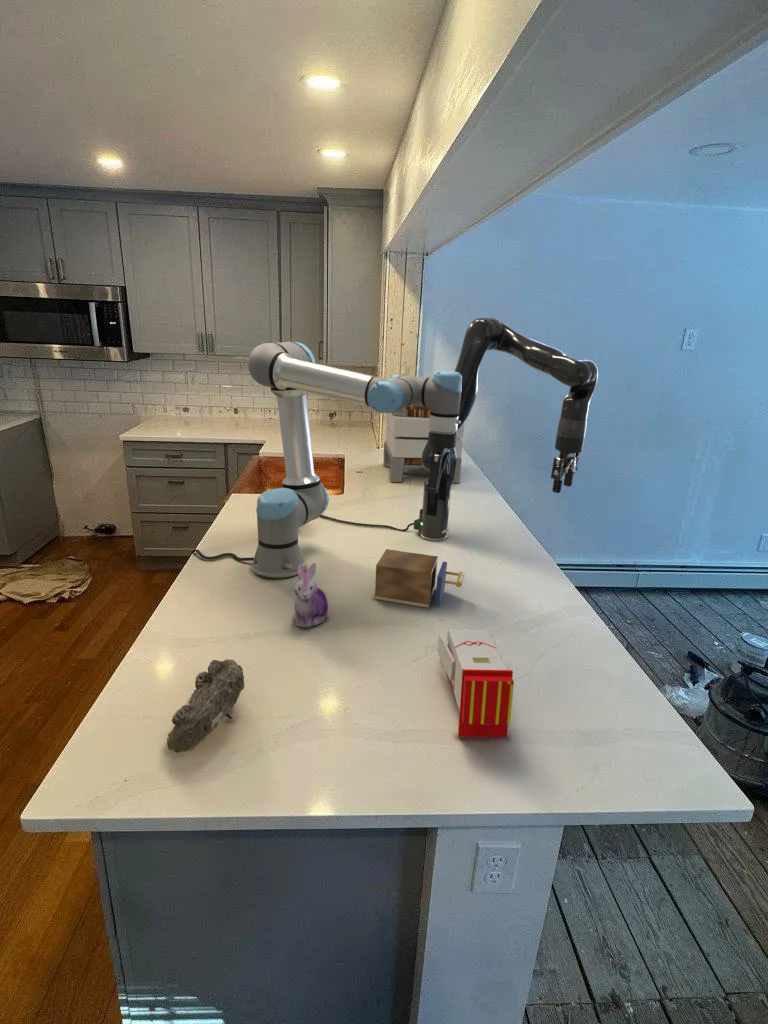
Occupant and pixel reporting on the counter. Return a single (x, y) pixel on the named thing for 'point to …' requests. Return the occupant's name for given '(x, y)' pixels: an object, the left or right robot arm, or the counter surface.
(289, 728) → the counter surface
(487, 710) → the toy
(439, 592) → the drawer
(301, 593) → the figurine
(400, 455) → the transformer
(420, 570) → the cabinet
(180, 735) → the fossil
